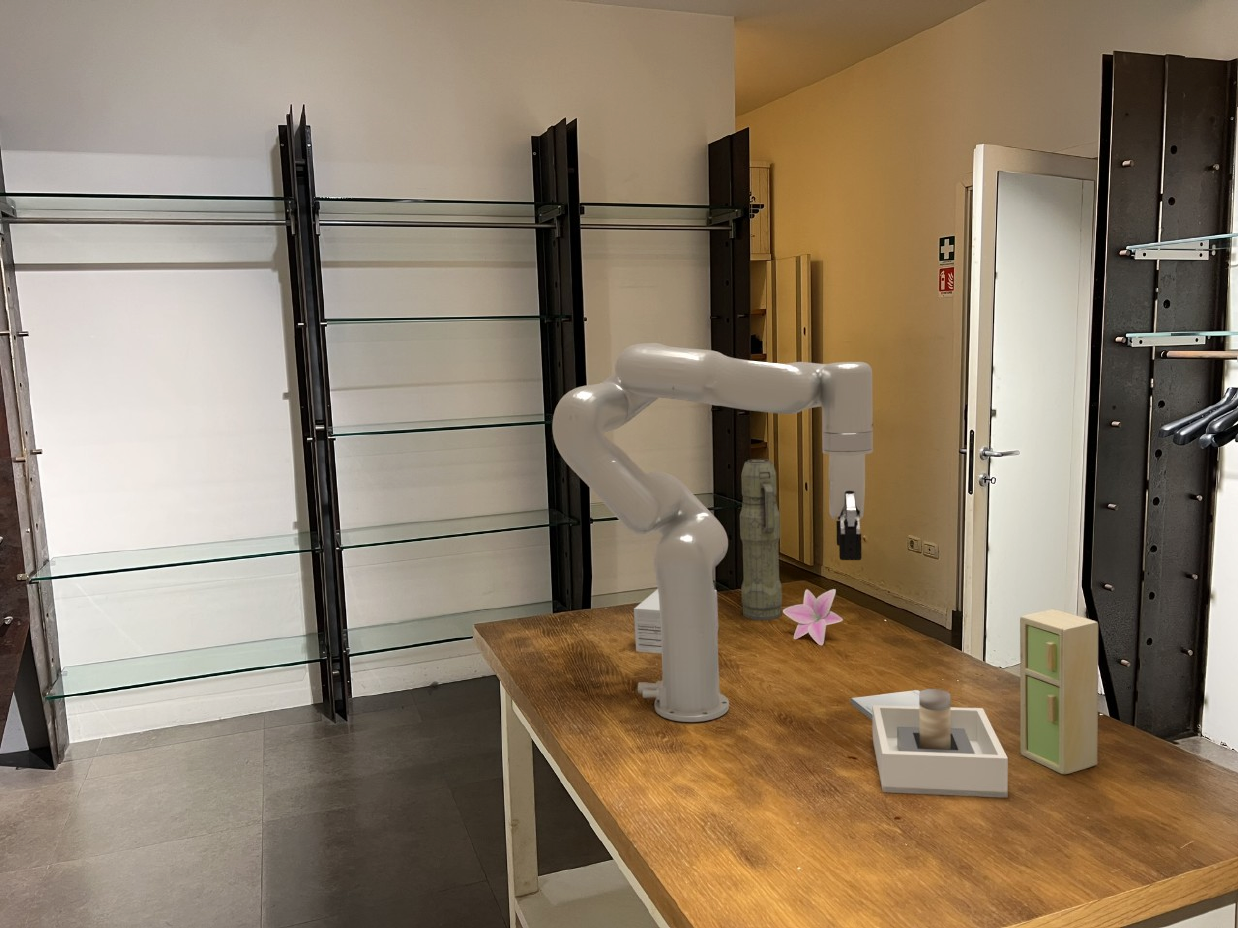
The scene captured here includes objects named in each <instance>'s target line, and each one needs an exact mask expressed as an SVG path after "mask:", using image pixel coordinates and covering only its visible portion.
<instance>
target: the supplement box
mask: <svg viewBox="0 0 1238 928" xmlns="http://www.w3.org/2000/svg"><path fill="white" fill-rule="evenodd" d="M714 590H715V596H716V609H717V632H719V616H718V615H719V613H718V612H719V611H718V591H717V589H714ZM633 618H634V619H633V620H634V638H635V639H634V640H635V652H641V653H652V654H662V648H661V623H660V606H659V593H658V588H657V589H655V590H654V592H652V593H651V594H649V596H648V597H646V598H645V599H644V600H643V601H642V602H640V603H639V604H638V605H637V606H635V607H634V608H633Z"/></svg>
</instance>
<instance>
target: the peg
mask: <svg viewBox="0 0 1238 928" xmlns="http://www.w3.org/2000/svg"><path fill="white" fill-rule="evenodd" d="M919 691H920V693H919V728H920V749H937V750H951V699H952V698H951V694H950V693H949V692H948V691H946V690H943V689H939V688H938V689H937V688H926V689H921V690H919Z"/></svg>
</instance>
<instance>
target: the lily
mask: <svg viewBox="0 0 1238 928" xmlns="http://www.w3.org/2000/svg"><path fill="white" fill-rule="evenodd" d="M836 591H837V590H836V588H835V589H834V588H833V589H829V590H828V591H825V592H823V593H821V594H820V595H818V596H817V598H816V596H815V595H814V594H813V593H812V592H811V591H810V590H809V589H805V591H804V595H803V603H802V604H794V605H790V606H788V607H786V608H784V609H783V610H782V613H783V614H784V615H786V616H787V617H788V618H789V619H791V620H792V621H794V622H796V623H798V624H797V626H796V629H795V631H794V633H793V634H794V635H793V639H794V640H797V639H799V638H801V637H802V636H804V635H806V634H808V635H810V637H811V638H812V639H813V640H814V641H815V642H816V643H817V644H818V645H819V646H823V645H824V642H825V637H826V627H827V626H828V625H832V624H837V623H840V622H843V621H844V619H843V617H841V616H840V615H839V614H837V613H835V612H833V611H831V610H830V609H831V607H832V605H833V601H834V599H835V597H836Z"/></svg>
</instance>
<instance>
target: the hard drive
mask: <svg viewBox="0 0 1238 928" xmlns="http://www.w3.org/2000/svg"><path fill="white" fill-rule="evenodd" d="M920 691H921V690H918V689H914V690H907V691H898V692H890V693H881V694H876V695H875V694H874V695H868V696H867V695H866V696H858V697H851V698H850V700H849V704H850V705H852V706H853V707H854V708H855V709H857V710H858V711H859V712H860V713H861V714H863V715H864V716H865V715H866V716H865V717H867V718H868V719H869V720H871V722H873V710H872V705H884V706H919V693H920Z"/></svg>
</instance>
